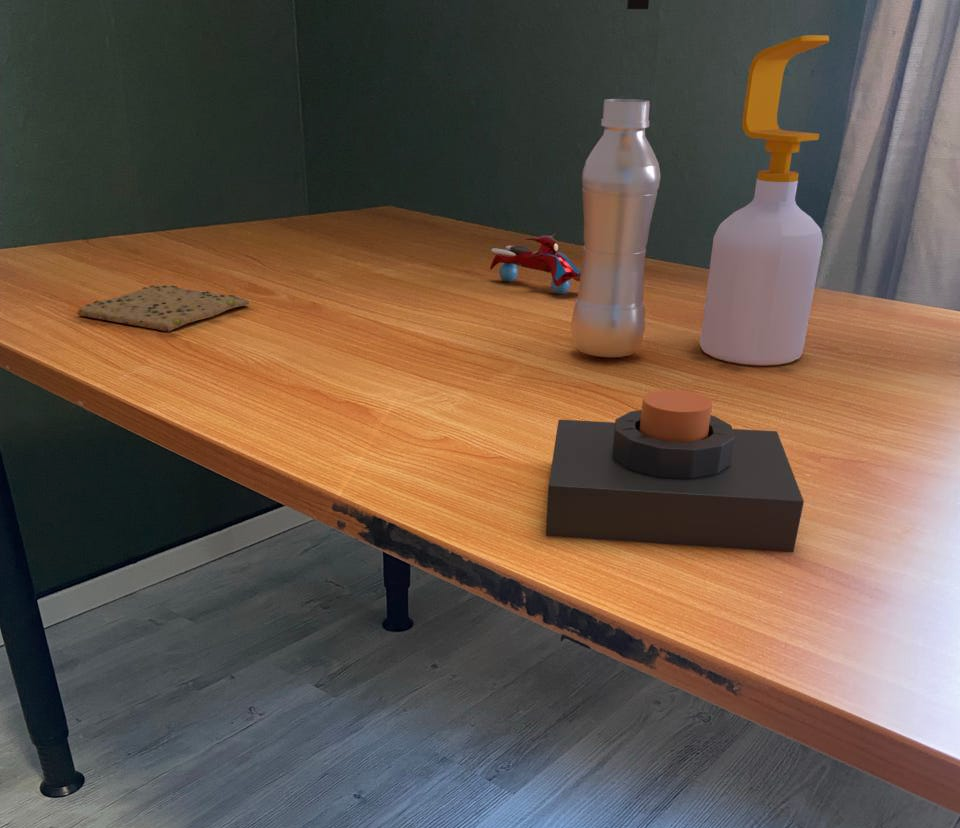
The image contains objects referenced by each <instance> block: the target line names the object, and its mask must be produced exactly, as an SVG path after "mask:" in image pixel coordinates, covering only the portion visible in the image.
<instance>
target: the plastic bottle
mask: <svg viewBox="0 0 960 828" xmlns="http://www.w3.org/2000/svg"><path fill="white" fill-rule="evenodd" d="M650 102H651V101H650V100H646V99H635V98H634V99H633V98H607V99H604V101H603V106H602V107H603V108H602V118H601V119H600V121H601V122H600V126H601V127H604V130H603V134H602V136H601V137H600V139H599V140H598V141H597V143H596V144H595V145H594V146H593V148H592V150H591V151H590V153H589V155H588V156H587V158H586V160H585V163H584V165H583V168H582V172H581V186H582V188H581V192H582V193H581V194H582V209H583V243H584V245H583V248H582V264H581V270H580V271H581V276H580V281H579V285H578V291H577V298H575V303H574V305H573V309H572V315H571V321H570V330H571V339H572V342H573V344H574V345H575V347H576V349H577V350H578V351H579V352H581V353H583V354H586V355H589V356H593V357H601V358H622V357H626V356H631V355H633V354H635V353H636V351H637V350H638V349H639V348H640V346H641V345H642V342H643V339H644V336H645V335H644V334H645V330H646V309H645V302H644V297H645V296H644V294H645V293H644V292H645V261H646V255H647V245H648V241H649V235H650V229H651V228H650V227H651V223H652V218H653V214H654V211H655V210H654V209H655V206H656V201H657V197H658V190H659V188H660V182H661V179H662V177H661V170H660V163H659V161H658V158H657V157H656V154H655V152H654V150H653V147H652V146H651V144H650V142H649V140H648V139H647V137H646V129H647V128H650V119H649V118H650V116H649V115H650V108H651V107H650V106H651V104H650Z"/></svg>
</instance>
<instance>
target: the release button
mask: <svg viewBox="0 0 960 828" xmlns="http://www.w3.org/2000/svg"><path fill="white" fill-rule="evenodd" d="M641 401H642V403H641V410H642V411H641V420H640V430H639V431H640V432H641V433H642V434H644V435H646V436H648V437H652V438H656V439H660V440H664V441H678V442H692V441H698V440H705V439H706V438H707V437H708V431H709V424H710V417H711V415H712V411H713V401H712V399H710V398H709V397H708V396H706V395H705V394H701V393H698V392H695V391H691V390H685V389H670V388H669V389H658V390H653V391H650V392H647V393H646V394H644V395H643V396H642V400H641Z"/></svg>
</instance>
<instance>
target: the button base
mask: <svg viewBox="0 0 960 828" xmlns="http://www.w3.org/2000/svg"><path fill="white" fill-rule="evenodd" d="M641 411H642V409H638V410H632V411H629V412H627V413H624V414H623V415H621V416H619V417H617V418H616V419H615V421H614V422H613V421H596V420H595V421H594V420H575V419H558V421H557V428H556V434H555V441H554V446H553V453H552V460H551V467H550V471H549V479H548V486H547V487H548V488H547V503H546V519H545V520H546V524H545V536H546V537H555V538H570V539H571V538H572V539H584V540H599V541H614V542H615V541H617V542H632V543H644V544H645V543H646V544H647V543H649V544H661V545H675V546H676V545H677V546H692V547H693V546H694V547H708V548H724V549H739V550H751V551H752V550H753V551H755V550H756V551H769V552H781V553H782V552H784V553H794V552H795V548H796V541H797V538H798V533H799V527H800V521H801V519H802V513H803V508H804V502H805V501H804V498H803V495H802V492H801V490H800V487H799V485H798V482H797V479H796V477H795V474H794V471H793V469H792V467H791V464H790V461H789V459H788V456H787V454H786V451H785V449H784V446H783V444H782V441H781V438H780V435H779V432H778V431H776V430H759V429H742V428H733V426H732V425H731V424H730V423H728V422H726V421H724V420H722V419H721V418H719V417H717V416H715V415H712V414H711V417H710V424H709V431H708V437H707V438H706V439H705V440H698V441H692V442H678V441H664V440H660V439H656V438H652V437H648V436H646V435H644V434H642V433H641V432H640V431H639V430H640V420H641Z"/></svg>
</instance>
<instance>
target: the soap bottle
mask: <svg viewBox="0 0 960 828" xmlns="http://www.w3.org/2000/svg"><path fill="white" fill-rule="evenodd" d="M828 43H830V35H826V34H825V35H823V34H822V35H820V34H819V35H818V34H811V35H810V34H805V35H800V36H795V37H793V38H790V39H787V40H785V41H783V42H780V43H777V44H775V45H772V46H769V47H767V48H765V49H762V50H761V51H759V52H758V53H756V54H755V56H754V57H753V59H752V61H751V63H750V66H749V69H748V78H747V85H746V90H745V91H746V92H745V99H744V107H743V113H742V114H743V116H742V121H741V122H742V130H743V132H744V134H745V136H746V137H749V138H750V139H759V140H765V145H764V151H765V152H770V159H769V165H768V169H762V170H758V172H757V178H756V182H755V189H754V195H753V199H752V200H751V201H750V202H749V203H748V204H746V205H745V206H743V207H742V208H739V209H737V210H736V211H734V212H733V213H732V214H730V215H729V216H727V217H726V218H724V220H723V221H722V222H721V223H720V224H719V225H718V227H717V229H716V230H715V233H714V235H713V238H712V239H713V240H712V241H713V242H712V247H711V248H712V249H711V255H710V256H711V257H710V263H709V271H708V276H707V277H708V278H707V284H706V285H707V286H706V294H705V299H704V300H705V301H704V309H703V316H702V326H701V331H700V340H699V346H700V349H701V350H702V351H703V353H705V354H707V355H708V356H710V357H712V358H714V359H716V360H720V361H723V362H727V363H729V364H736V365H743V366H757V367H758V366H759V367H765V366H766V367H767V366H769V367H770V366H780V365H784V364H785V365H786V364H789V363H793V362H794V361H796V360H799V359H800V358H801V357H802V354H803V352H804V347H805V343H806V338H807V337H806V336H807V331H808V326H809V320H810V316H811V310H812V304H813V299H814V293H815V289H816V282H817V278H818V277H817V276H818V272H819V268H820V262H821V256H822V250H823V245H824V238H823V233H822V228H821V227H820V226H819V225H818V224H817V222H816V221H815V220H814V219H813V218H812V217H811V216H810V215H809V214H807V213H806V212H805V211H803V210H802V209H801V207H799V206H798V204H797V202H796V194H797V189H798V183H799V173H800V172H798V171H791V170H790V168H791V163H792V156H793V153H799V152H800V149H801V148H800V147H801V142H810V141H811V142H812V141H819V138H820V133H814V132H806V131H805V132H803V131H795V130H794V131H793V130H785V129H781V128H780V126H779V124H778V110H779V104H780V97H781V91H782V84H783V79H784V78H783V77H784V73H785V69H786V67H787V64H788V63H789V60H791V59H792V58H794V57H795V56H797V55H799V54H802V53H805V52H807V51H810V50H812V49H815V48H818V47H821V46H823V45H826V44H828Z"/></svg>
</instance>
